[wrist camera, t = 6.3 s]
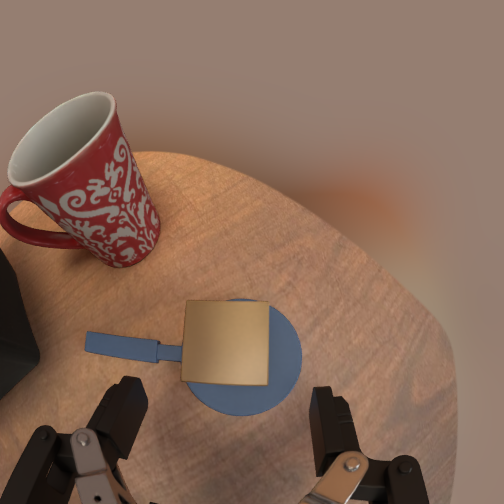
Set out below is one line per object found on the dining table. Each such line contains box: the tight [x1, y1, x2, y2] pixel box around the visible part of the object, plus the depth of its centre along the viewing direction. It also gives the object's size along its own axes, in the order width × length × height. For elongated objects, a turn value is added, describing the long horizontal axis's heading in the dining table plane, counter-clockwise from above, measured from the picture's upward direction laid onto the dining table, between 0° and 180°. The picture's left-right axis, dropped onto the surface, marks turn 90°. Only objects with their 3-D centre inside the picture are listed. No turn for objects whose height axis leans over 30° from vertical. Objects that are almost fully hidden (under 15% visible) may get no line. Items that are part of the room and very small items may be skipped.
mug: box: [0, 92, 160, 267], centre depth 19 cm, size 13×9×14 cm
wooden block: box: [181, 300, 269, 386], centre depth 16 cm, size 4×4×8 cm
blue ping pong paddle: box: [85, 299, 302, 416], centre depth 20 cm, size 18×9×1 cm, turn 89°
